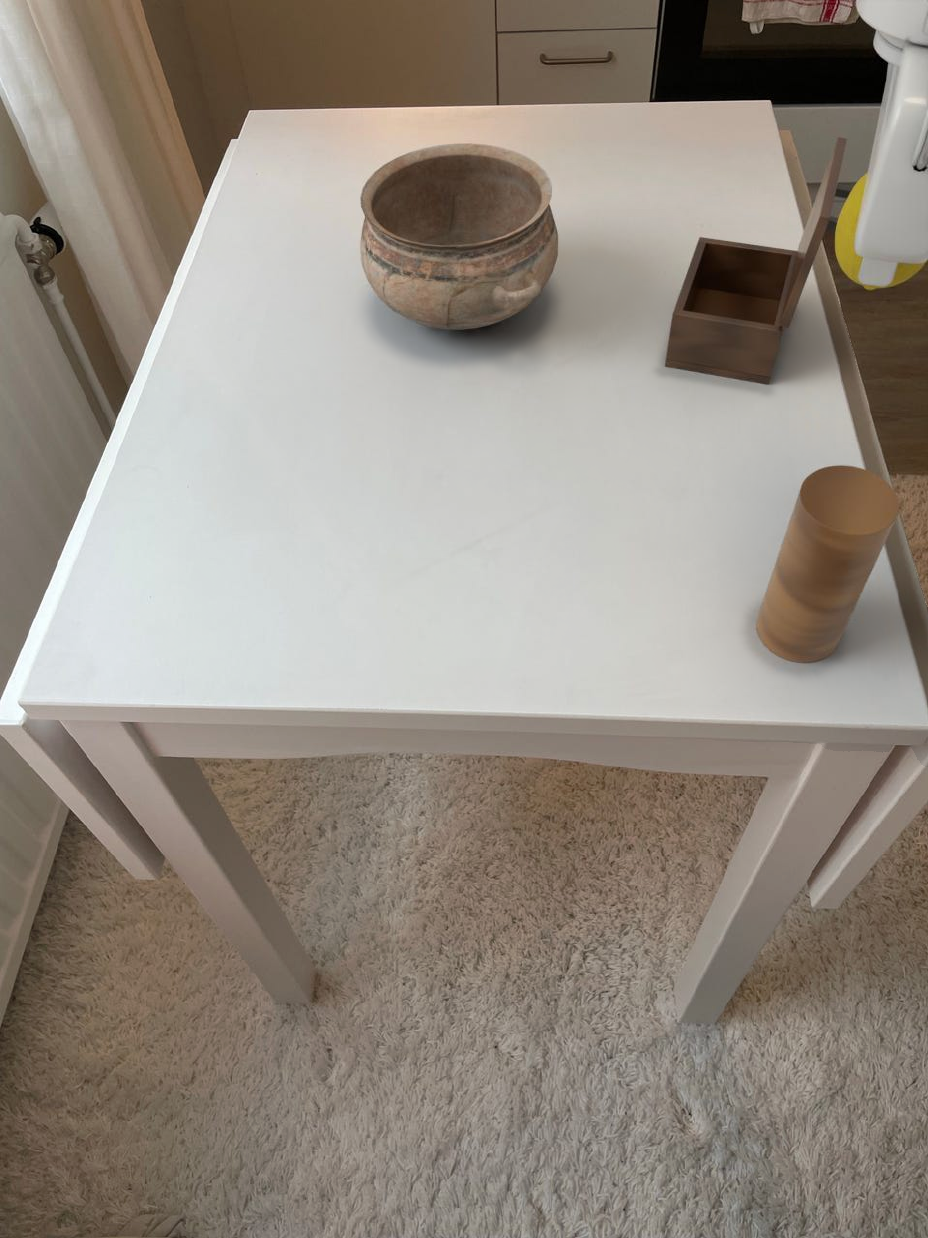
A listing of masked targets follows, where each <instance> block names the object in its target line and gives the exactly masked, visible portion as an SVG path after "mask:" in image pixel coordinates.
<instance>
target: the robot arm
mask: <svg viewBox="0 0 928 1238" xmlns="http://www.w3.org/2000/svg"><path fill="white" fill-rule="evenodd" d="M855 7H856V11H857V13H858V15H859V17H860V18H861V19H862V20H863V21H864V22H865V23H866V24H867V25H869V27H871V28H872V29H874V30H875V34H874V38H873V43H872V44H873V48H874V51H876V53H877V54H878V56H879V57H880V58H882V59H883V60H884V61H885V62H887V63H888V64H887V69H886V71H887V72H886V81H885V84H884V91H883V94H882V98H881V99H882V100H881V105H880V109H879V115H878V119H877V124H876V129H875V134H874V140H873V145H872V150H871V155H870V159H869V165H868V170H867V172H868V174H867V179H866V184H865V189H864V194H863V199H862V204H861V209H860V214H859V219H858V224H857V229H856V234H855V241H854V249H855V252H856V254H857V255H859V256H861V257H863V258H862V261H861V265H860V270H859V275H858V279H859V282H861V283H862V284H865V285H872V286H879V287H885V286H888V285H889V284H890V283H891V282H892V281H893V278H894V275H895V272H896V269H897V266H898V263H907V264H921V263H924V262H926V261H927V262H928V0H856V1H855ZM927 262H926V263H927Z"/></svg>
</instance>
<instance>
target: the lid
mask: <svg viewBox="0 0 928 1238" xmlns="http://www.w3.org/2000/svg"><path fill="white" fill-rule="evenodd" d="M847 142H848V139H847V138H845V137H840V136H838V137H837V139H836V141H835V144H834V147H833V149H832V153H831V154H830V158H829V160H828V163H827V166H826V169H825V172H824V175H823V177H822V180H821V182H820V186H819V188H818V191H817V194H816V196H815V200H814V202H813V205H812V208H811V211H810V213H809V216H808V219H807V222H806V223H805V227H804V230H803V232H802V236H801V237H800V242H799V243H798V247H797V250H796V251H797V255H796V259H795V263H794V267H793V271H792V275H791V279H790V283H789V288H788V292H787V296H786V300H785V304H784V308H783V312H782V316H781V320H780V324H779V326H782V327H783V328H786V329H788V328H789V327H790V325H791V322H792V320H793V317H794V314H795V312H796V309H797V307H798V304H799V301H800V298H801V295H802V293H803V290H804V288H805V286H806V282H807V280H808V278H809V275H810V272H811V269H812V266H813V264H814V261H815V259H816V256H817V254H818V251H819V248H820V246H821V243H822V240H823V238H824V236H825V233H826V230H827V229H829V230H830V229H831V230H835V231H836V226H837V222H838V218H839V217H835V216H832V210H833V206H834V201H835V197H837V198H842V199H846V200H847V198H848V196H849V194H850V192H851V191H852V189H853V187H850V186H846V185H841V184H839V178H840V174H841V169H842V165H843V161H844V156H845V151H846V147H847Z"/></svg>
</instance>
